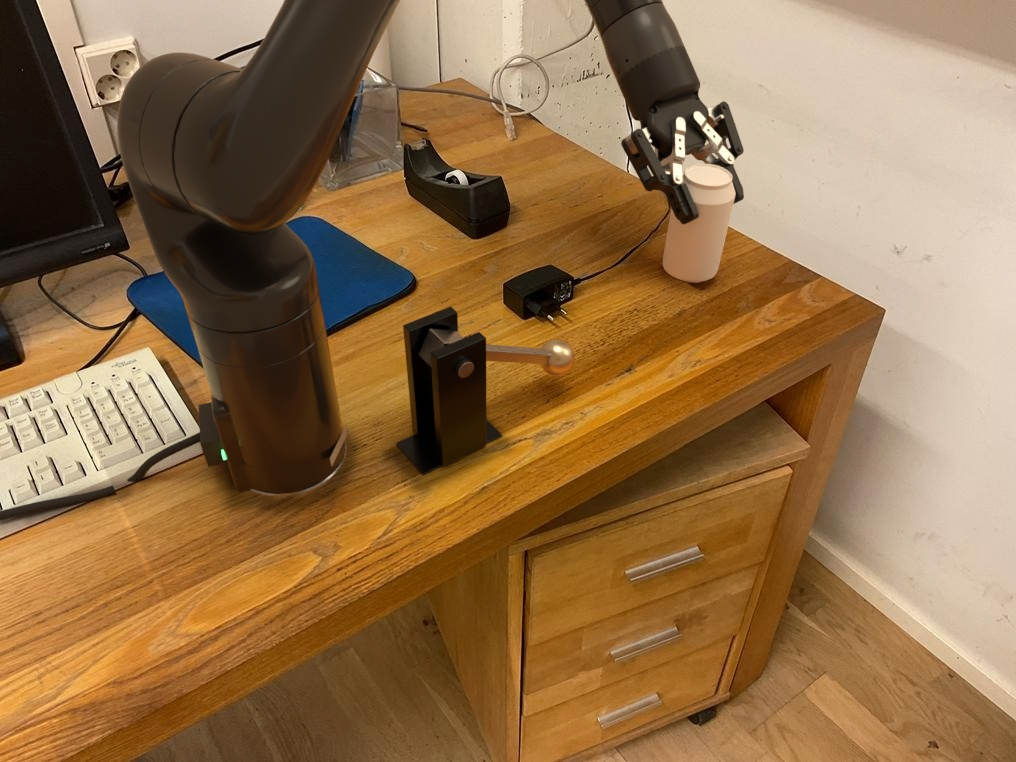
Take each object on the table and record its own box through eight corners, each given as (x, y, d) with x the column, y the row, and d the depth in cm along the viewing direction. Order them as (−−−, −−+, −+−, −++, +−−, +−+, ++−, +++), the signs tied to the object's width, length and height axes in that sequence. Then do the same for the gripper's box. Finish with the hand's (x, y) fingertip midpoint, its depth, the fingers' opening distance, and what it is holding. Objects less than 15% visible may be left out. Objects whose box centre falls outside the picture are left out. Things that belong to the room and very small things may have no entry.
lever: (550, 363, 75) (564, 333, 74) (572, 382, 73) (587, 352, 72) (413, 355, 64) (427, 320, 62) (434, 377, 62) (450, 341, 60)
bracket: (469, 411, 74) (466, 295, 65) (507, 449, 70) (509, 332, 62) (392, 447, 70) (378, 329, 62) (428, 490, 67) (419, 371, 58)
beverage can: (662, 254, 94) (678, 157, 86) (716, 260, 93) (738, 163, 85) (659, 284, 89) (677, 185, 81) (717, 291, 88) (740, 191, 80)
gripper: (618, 58, 77) (689, 219, 78) (721, 31, 84) (784, 180, 84) (578, 95, 84) (643, 243, 84) (676, 67, 90) (735, 205, 91)
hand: (713, 211), depth 84 cm, fingers closed on beverage can, 6 cm apart
